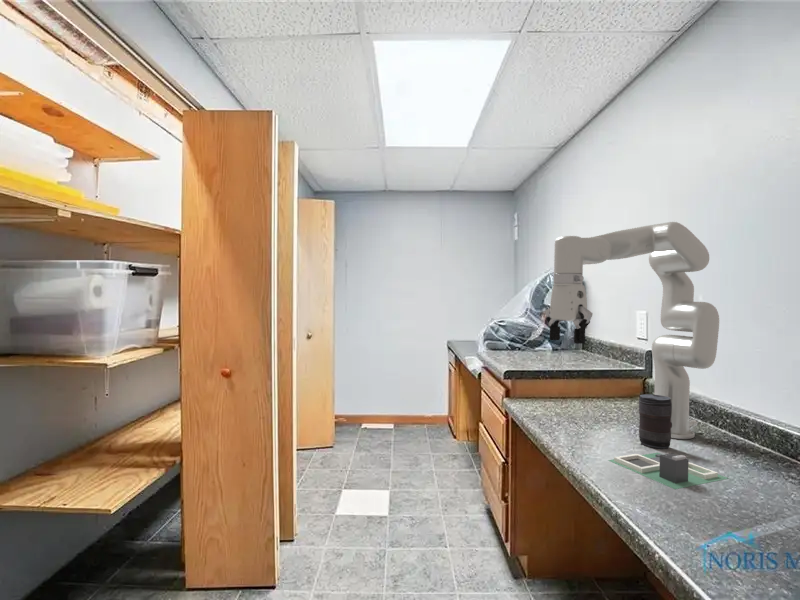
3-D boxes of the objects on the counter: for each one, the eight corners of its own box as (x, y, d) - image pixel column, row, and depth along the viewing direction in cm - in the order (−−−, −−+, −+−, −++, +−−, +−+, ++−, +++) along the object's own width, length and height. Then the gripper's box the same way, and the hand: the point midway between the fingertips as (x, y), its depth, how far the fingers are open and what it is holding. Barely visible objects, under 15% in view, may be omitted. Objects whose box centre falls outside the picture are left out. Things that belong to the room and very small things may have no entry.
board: (657, 456, 118) (657, 448, 118) (728, 483, 101) (729, 473, 101) (607, 464, 111) (607, 456, 111) (674, 494, 94) (675, 484, 94)
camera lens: (643, 442, 130) (644, 392, 130) (674, 449, 124) (675, 397, 124) (634, 448, 124) (635, 396, 124) (666, 456, 119) (667, 401, 119)
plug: (671, 474, 103) (671, 450, 103) (688, 481, 99) (688, 456, 99) (659, 476, 101) (659, 452, 101) (675, 483, 97) (676, 458, 97)
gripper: (602, 280, 115) (601, 344, 115) (557, 282, 131) (556, 338, 131) (580, 278, 112) (578, 345, 112) (537, 281, 129) (535, 339, 129)
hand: (566, 341), depth 122 cm, fingers open, 9 cm apart
